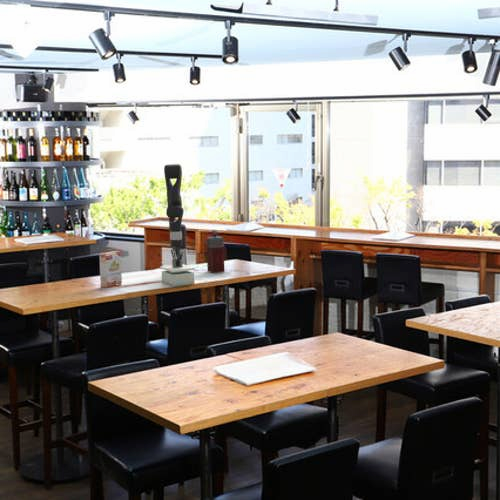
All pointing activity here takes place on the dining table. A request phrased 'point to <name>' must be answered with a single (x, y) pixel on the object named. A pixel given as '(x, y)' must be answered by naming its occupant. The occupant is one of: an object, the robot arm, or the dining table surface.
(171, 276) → the box
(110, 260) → the cracker box
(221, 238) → the dark red pepper mill
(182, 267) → the lid
